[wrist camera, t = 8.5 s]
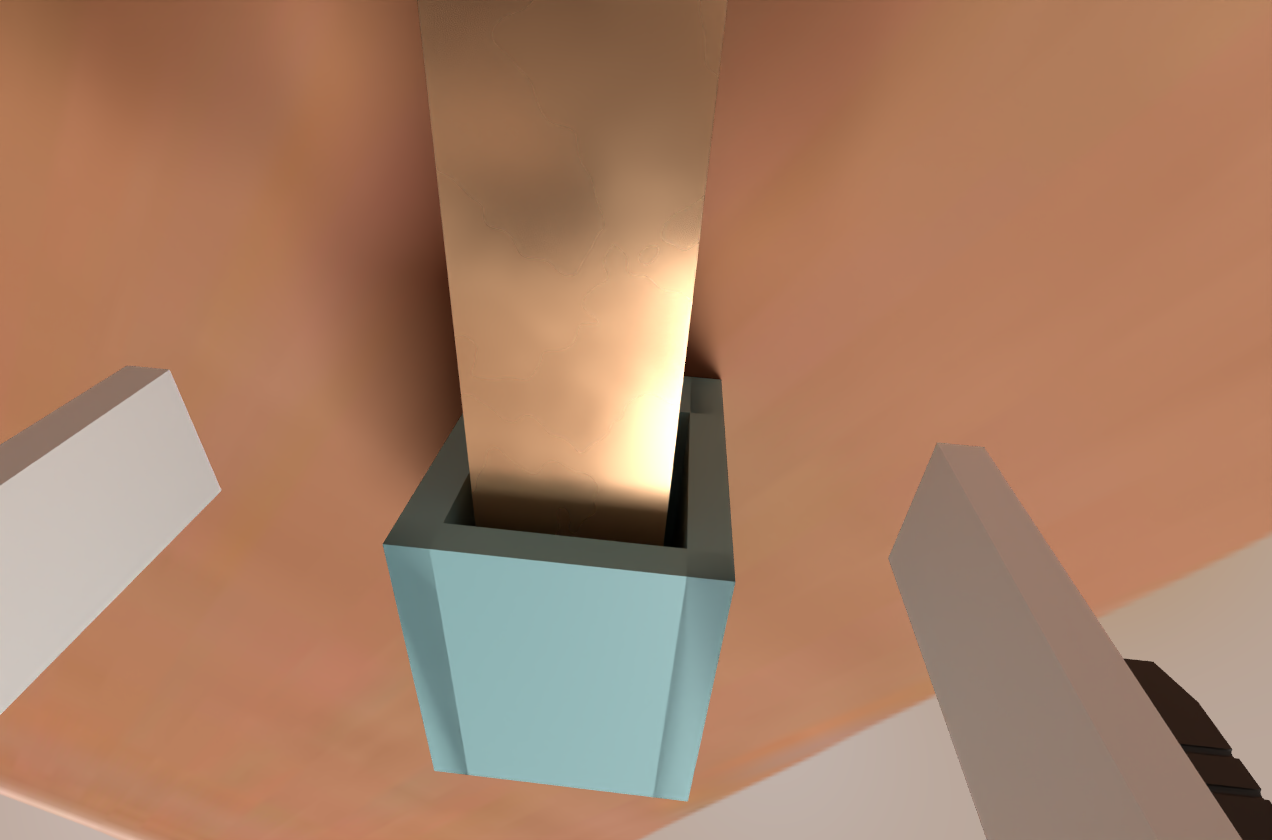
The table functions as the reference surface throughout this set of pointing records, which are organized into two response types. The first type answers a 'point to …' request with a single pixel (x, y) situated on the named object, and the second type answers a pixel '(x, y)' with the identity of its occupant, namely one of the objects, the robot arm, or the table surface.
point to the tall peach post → (572, 246)
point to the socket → (569, 627)
